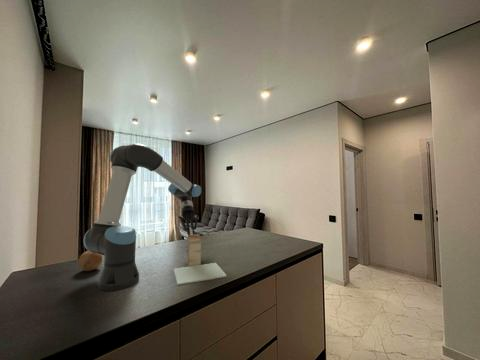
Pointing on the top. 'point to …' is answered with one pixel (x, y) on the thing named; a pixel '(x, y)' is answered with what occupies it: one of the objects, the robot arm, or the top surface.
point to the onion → (89, 261)
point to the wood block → (194, 250)
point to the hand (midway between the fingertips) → (191, 239)
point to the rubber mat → (198, 273)
